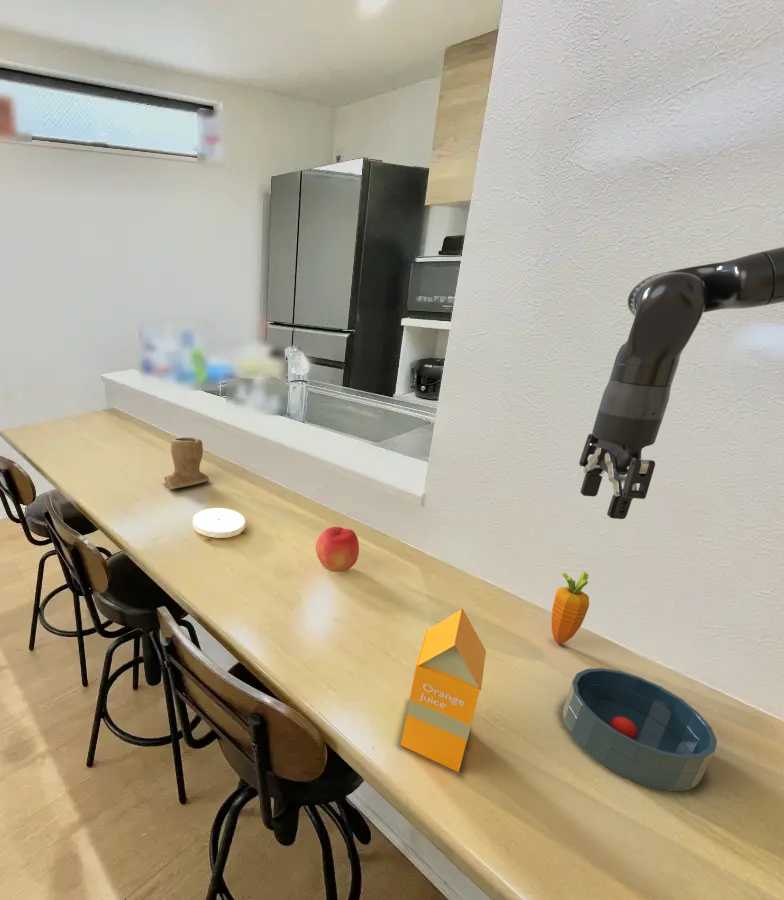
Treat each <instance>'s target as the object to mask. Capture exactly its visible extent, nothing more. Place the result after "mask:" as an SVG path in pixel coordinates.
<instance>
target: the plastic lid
mask: <svg viewBox="0 0 784 900" xmlns="http://www.w3.org/2000/svg"><path fill="white" fill-rule="evenodd" d="M192 528H193V530H195V531H196V532H197V533H199V534H201V535H202V536H205V537H210V538H217V539H219V538H220V539H223V538H224V539H225V538H231V537H235V536H238V535H239V534H241V533H243V531H244V530H245V528H246V518H245V517H244V515H243V514H242V513H240V512H238V511H236V510H233V509H231V508H230V509H229V508H225V507H211V508H206V509H202V510H199V511H198V512H196V513H195V514H194V515H193V516H192Z"/></svg>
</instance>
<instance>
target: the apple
mask: <svg viewBox="0 0 784 900" xmlns="http://www.w3.org/2000/svg"><path fill="white" fill-rule="evenodd" d="M315 553H316V556H317V559H318V561H319V562H320V564H321V565H322V567H323V568H324V569H326V570H327V571H329V572H334V573H335V572H336V573H337V572H344V571H345V572H346V571H348V570H349V569H351V568H352V567H353V566H354V565H355V564H356V563H357V561H358V559H359V555H360V544H359V539H358V536H357V534H356V532H355V531H354V530H352V529H350V528H344V527H341V526H331V527H327V528H326V529H323V530H322V531H321V532H320V533H319V534H318V536H317V538H316V540H315Z"/></svg>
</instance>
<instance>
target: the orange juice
mask: <svg viewBox="0 0 784 900" xmlns="http://www.w3.org/2000/svg"><path fill="white" fill-rule="evenodd" d="M486 654H487V650H486V648H485V647H484V644H483V643H482V641H481V639H480V637H479V636H478V634H477V631H476V630H475V629H474V627H473V625H472V623H471V621H470V619H469V618H468V616H467V613H466V612H465V610H464V609H463V607H461V609H460V610H458V611H456V612H454V613H453V614H451V615H450V616H448V617H447V618H444V619H443V620H442V621H440V622H438V623H436V624H435V625H433V626H432V627H430V628H428V629H426V631H425V633H424V637H423V640H422V643H421V646H420V649H419V653H418V657H417V659H416V663H415V666H414V667H415V669H414V674H413V680H412V684H411V685H412V686H411V691H410V695H409V699H408V704H407V710H406V715H405V716H406V717H405V721H404V727H403V731H402V737H401V742H400V746H402V747H404V748H406V749H407V750H410V751H412V752H414V753H416V754H418V755H421V756H423V757H425V758H427V759H429V760H430V761H433V762H435V763H438V764H440V765H442V766H444V767H446V768H448V769H451V770H453V771H454V772H457V773H460V769H461V766H462V761H463V757H464V753H465V750H466V747H467V742H468V739H469V735H470V731H471V727H472V722H473V718H474V714H475V710H476V707H477V703H478V699H479V696H480V693H481V692H482V686H483V677H484V671H485V670H484V669H485V663H486V661H485V660H486Z"/></svg>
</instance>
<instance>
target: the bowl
mask: <svg viewBox="0 0 784 900" xmlns="http://www.w3.org/2000/svg"><path fill="white" fill-rule="evenodd" d="M614 717H624V718H627V719H629V720H630V721H632V722H633V723H634V725H635V726H636V728H637V736H636V738H634V739H631V738H629V737H627V736H625V735H624V734H622V733H620V732H618V731H616V730H615V729H614V728H612V727H611V726H610V721H611V720H612V719H613V718H614ZM562 718H563V722H564V725H565V726H566V730H567V731H568V732H569V734H570V735H571V737H572V738H573V740H574V741H575V742H576V743H577V745H579V746H580V747H581V748H582V749H583V750H584V751H585V752H586V753H587V754H589V755H590V756H591V757H592V758H593V759H594V760H596V761H597V762H599V763H600V764H601V765H603V766H605V768H608V769H609V770H611V771H612V772H614V773H616V774H618V775H619V776H621V777H622V778H625V779H627V780H630V781H632V782H634V783H637V784H640V785H642V786H645V787H648V788H652V789H655V790H659V791H666V792H684V791H689V790H691V789H693V788H694V787H696V786H698V784H699V782H700V781H701V780H702V779H703V777H704V775H705V772H706V770H707V769H708V766H709V764H710V762H711V760H712V758H713V756H714V754H715V753H716V748H717V742H718V740H717V737H716V735H715V733H714V731H713V729H712V726H711V725H710V724H709V723H708V722H707V720H705V718H704V717H703V716H702V715H701V713H700V712H699V711H698V710H696V709H695V708H694V707H692V706H691V705H690V704H689V703H687V702H686V701H685V700H683V699H682V698H681V697H679V696H678V695H676V694H675V693H672V692H671V691H669V690H668V689H666V688H664V687H663V686H661V685H659V684H656V683H654V682H652V681H650V680H647V679H645V678H643V677H641V676H638V675H635V674H632V673H628V672H625V671H621V670H618V669H610V668H605V667H600V668H599V667H598V668H597V667H596V668H586V669H584V670H581V671H579V672H577V673H576V674H575V676H574V678H573V680H571V684H570V687H569V690H568V693H567V696H566V699H565V702H564V705H563V712H562Z"/></svg>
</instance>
